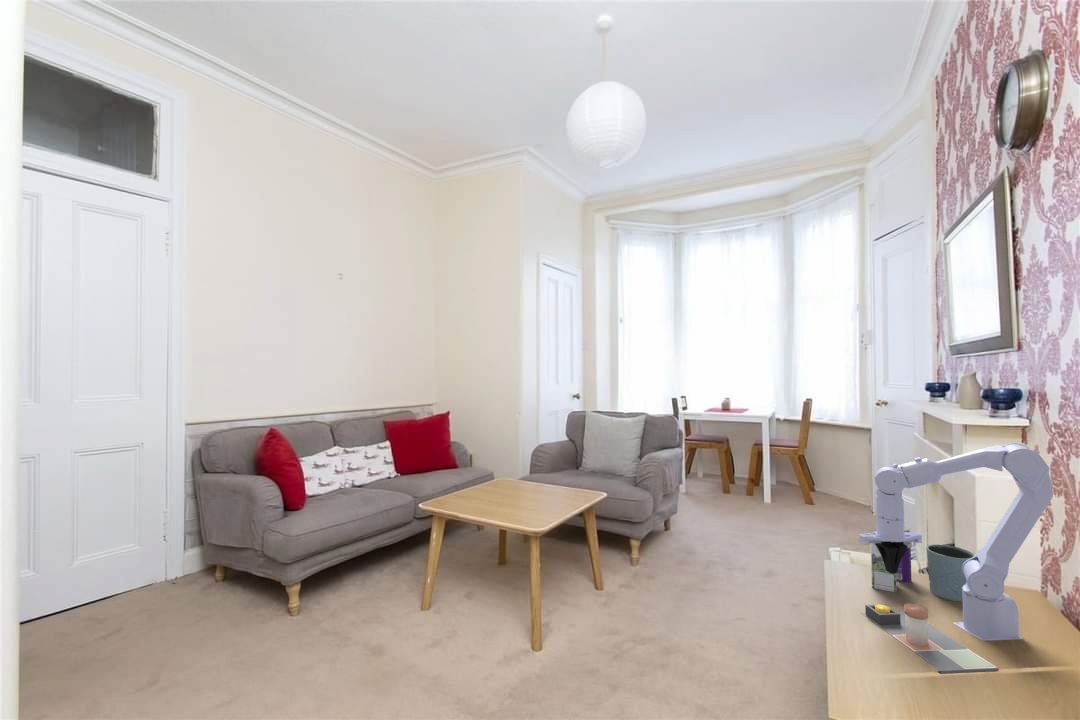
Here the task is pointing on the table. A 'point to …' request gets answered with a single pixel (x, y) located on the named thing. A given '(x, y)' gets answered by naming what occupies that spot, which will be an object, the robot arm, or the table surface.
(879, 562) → the syrup box
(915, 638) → the white cylinder
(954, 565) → the teal plant pot
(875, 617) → the button housing
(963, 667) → the colouring board
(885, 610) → the button
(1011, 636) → the robot arm
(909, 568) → the container
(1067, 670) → the table surface
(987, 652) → the table surface
